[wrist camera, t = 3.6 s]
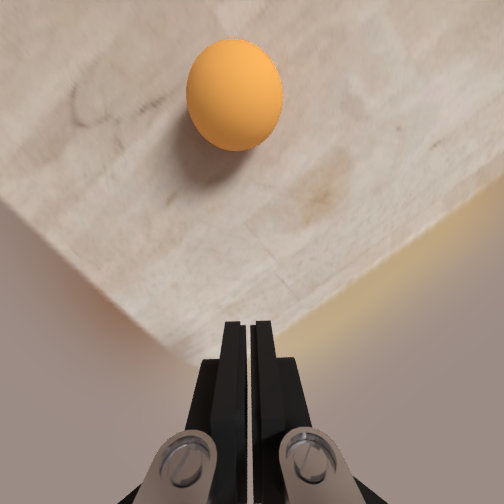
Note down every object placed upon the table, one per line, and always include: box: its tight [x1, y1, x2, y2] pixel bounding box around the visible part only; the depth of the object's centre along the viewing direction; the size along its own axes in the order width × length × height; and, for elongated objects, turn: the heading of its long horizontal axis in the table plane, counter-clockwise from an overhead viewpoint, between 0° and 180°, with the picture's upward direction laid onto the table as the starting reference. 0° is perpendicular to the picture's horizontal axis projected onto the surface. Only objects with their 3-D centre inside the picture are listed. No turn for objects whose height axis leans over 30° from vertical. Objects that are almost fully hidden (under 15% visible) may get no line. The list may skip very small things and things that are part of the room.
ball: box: [186, 39, 283, 151], centre depth 14 cm, size 5×5×5 cm
